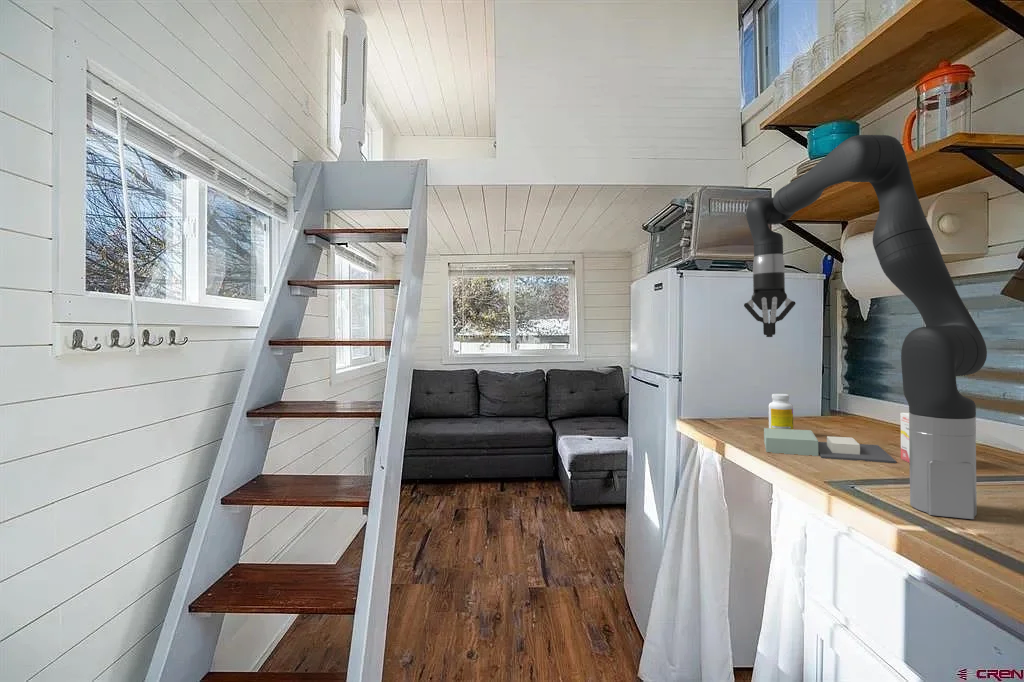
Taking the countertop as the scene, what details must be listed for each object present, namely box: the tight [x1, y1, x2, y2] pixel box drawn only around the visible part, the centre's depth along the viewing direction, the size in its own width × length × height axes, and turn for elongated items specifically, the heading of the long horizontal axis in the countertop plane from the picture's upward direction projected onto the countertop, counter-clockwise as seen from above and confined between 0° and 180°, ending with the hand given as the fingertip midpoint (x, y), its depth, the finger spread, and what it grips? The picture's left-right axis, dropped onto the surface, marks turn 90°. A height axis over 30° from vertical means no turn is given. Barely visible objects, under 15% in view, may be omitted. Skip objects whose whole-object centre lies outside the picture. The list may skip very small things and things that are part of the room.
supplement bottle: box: [768, 393, 794, 430], centre depth 155 cm, size 7×7×13 cm
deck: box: [763, 427, 819, 457], centre depth 140 cm, size 14×12×4 cm
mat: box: [818, 441, 897, 464], centre depth 134 cm, size 18×16×1 cm
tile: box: [826, 436, 861, 455], centre depth 135 cm, size 9×6×2 cm, turn 156°
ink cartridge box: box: [899, 412, 910, 464], centre depth 121 cm, size 9×5×15 cm, turn 168°
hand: (769, 336), depth 137 cm, fingers closed
